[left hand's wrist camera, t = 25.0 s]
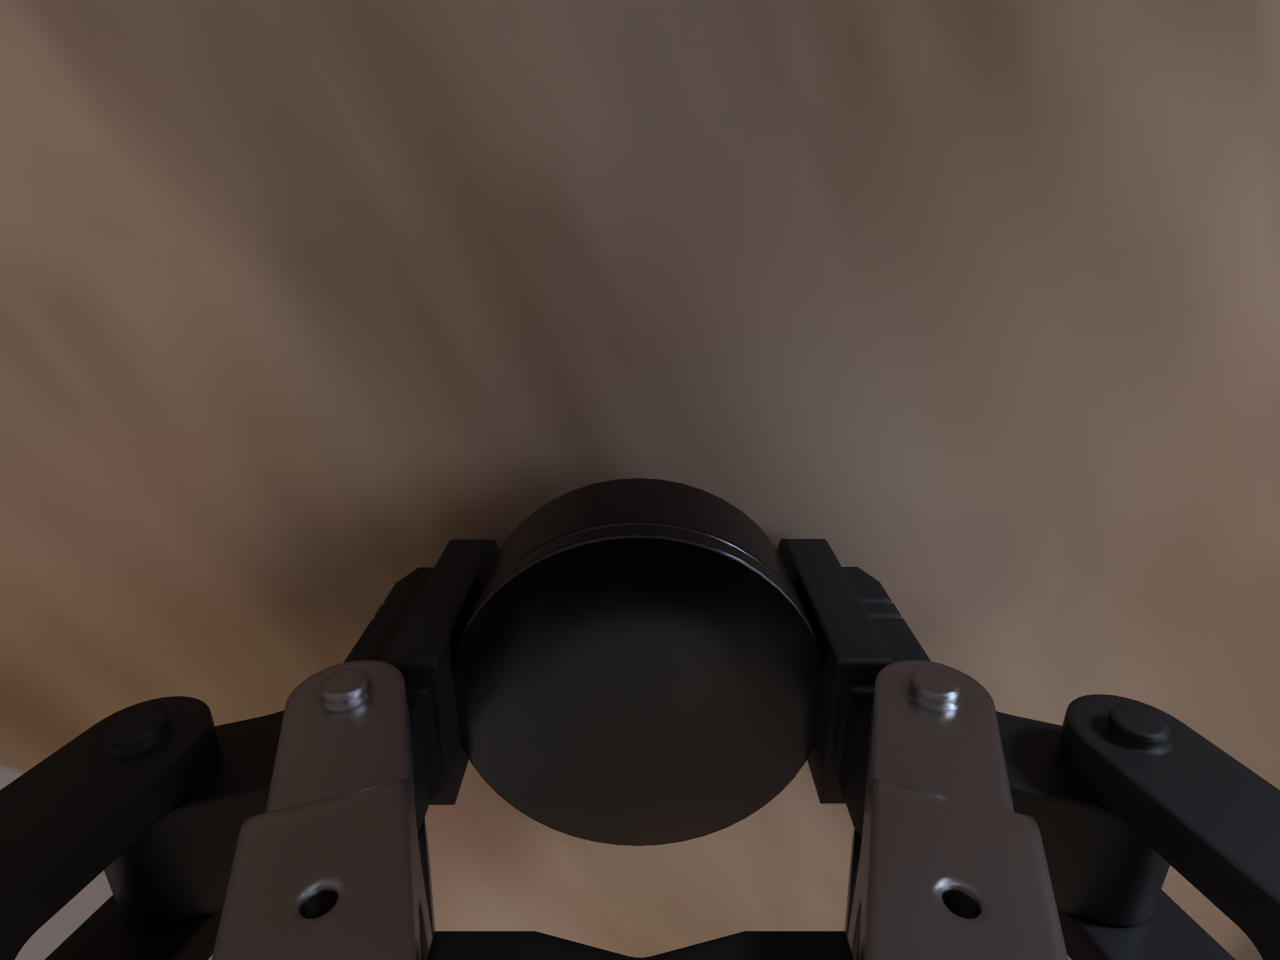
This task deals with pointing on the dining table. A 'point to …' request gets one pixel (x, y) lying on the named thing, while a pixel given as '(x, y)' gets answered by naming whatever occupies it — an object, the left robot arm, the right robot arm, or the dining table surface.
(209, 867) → the left robot arm
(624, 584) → the lid
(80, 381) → the dining table surface
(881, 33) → the dining table surface
